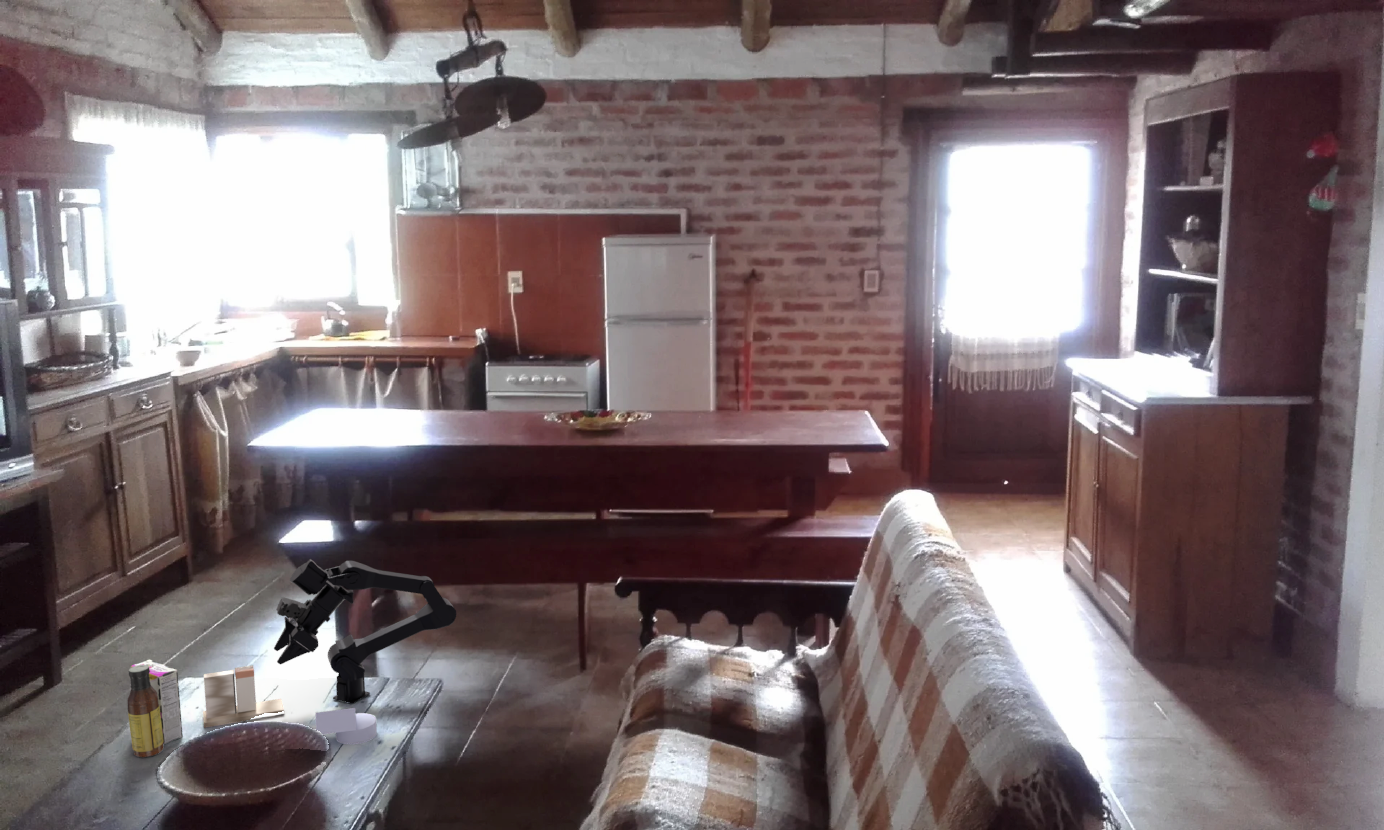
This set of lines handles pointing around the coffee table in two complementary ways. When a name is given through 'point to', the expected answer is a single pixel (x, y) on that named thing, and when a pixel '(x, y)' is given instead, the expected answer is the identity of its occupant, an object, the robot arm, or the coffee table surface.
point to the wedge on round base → (347, 725)
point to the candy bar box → (166, 698)
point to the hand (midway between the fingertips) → (276, 656)
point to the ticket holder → (229, 701)
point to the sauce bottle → (144, 714)
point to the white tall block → (245, 688)
